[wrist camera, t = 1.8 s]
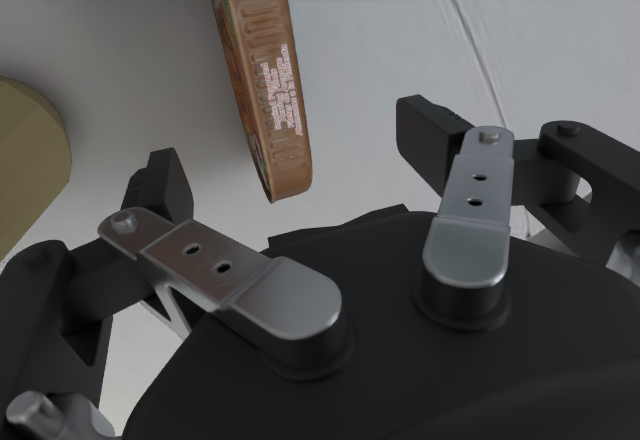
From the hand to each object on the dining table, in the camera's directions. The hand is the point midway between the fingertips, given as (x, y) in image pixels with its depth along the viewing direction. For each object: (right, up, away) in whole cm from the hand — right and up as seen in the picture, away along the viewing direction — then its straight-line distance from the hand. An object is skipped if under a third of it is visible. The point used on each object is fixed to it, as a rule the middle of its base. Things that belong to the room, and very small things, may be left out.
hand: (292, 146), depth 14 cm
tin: (-3, +8, +11) cm, 14 cm away
